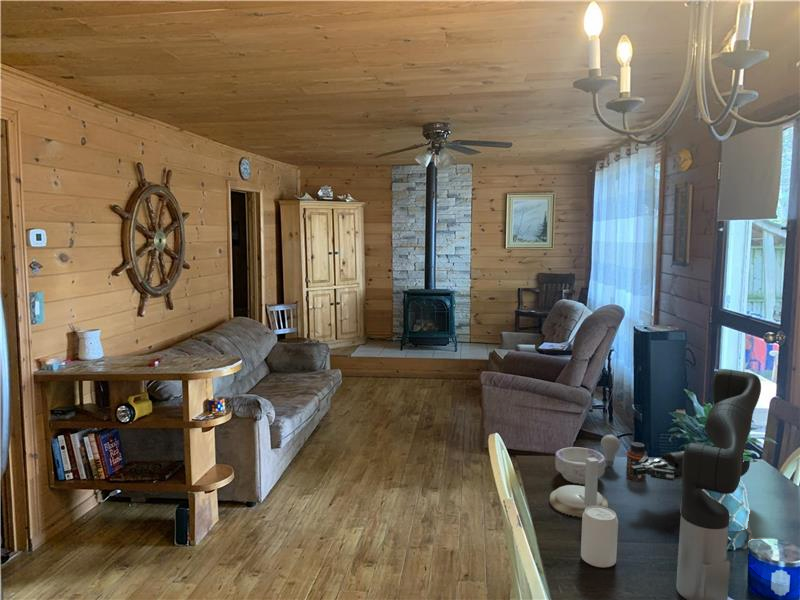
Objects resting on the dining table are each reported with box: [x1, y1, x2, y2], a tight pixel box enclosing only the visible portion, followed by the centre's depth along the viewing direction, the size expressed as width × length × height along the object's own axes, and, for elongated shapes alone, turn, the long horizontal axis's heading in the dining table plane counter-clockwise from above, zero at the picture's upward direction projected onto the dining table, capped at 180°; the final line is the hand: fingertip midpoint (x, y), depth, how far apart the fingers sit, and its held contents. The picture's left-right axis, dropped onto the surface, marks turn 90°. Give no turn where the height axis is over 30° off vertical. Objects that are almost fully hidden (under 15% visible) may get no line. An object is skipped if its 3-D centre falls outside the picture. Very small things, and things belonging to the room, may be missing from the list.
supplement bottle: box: [625, 441, 648, 482], centre depth 186 cm, size 6×6×11 cm
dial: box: [555, 458, 603, 509], centre depth 167 cm, size 14×13×14 cm
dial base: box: [549, 489, 609, 518], centre depth 169 cm, size 16×16×2 cm
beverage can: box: [580, 506, 619, 568], centre depth 139 cm, size 8×8×12 cm
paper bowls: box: [554, 446, 606, 485], centre depth 186 cm, size 15×15×8 cm
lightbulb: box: [600, 434, 621, 468], centre depth 195 cm, size 6×6×11 cm
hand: (631, 470), depth 166 cm, fingers closed
